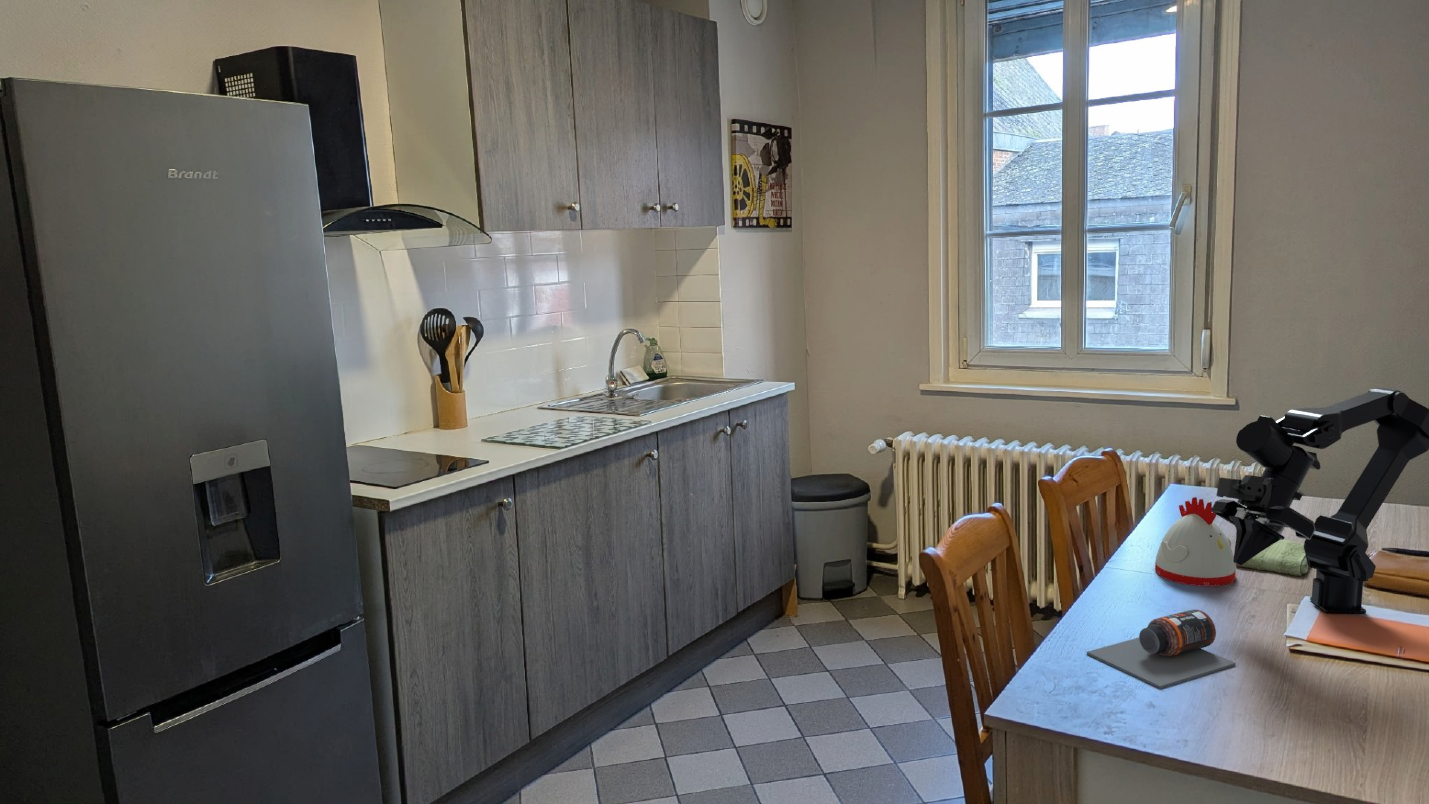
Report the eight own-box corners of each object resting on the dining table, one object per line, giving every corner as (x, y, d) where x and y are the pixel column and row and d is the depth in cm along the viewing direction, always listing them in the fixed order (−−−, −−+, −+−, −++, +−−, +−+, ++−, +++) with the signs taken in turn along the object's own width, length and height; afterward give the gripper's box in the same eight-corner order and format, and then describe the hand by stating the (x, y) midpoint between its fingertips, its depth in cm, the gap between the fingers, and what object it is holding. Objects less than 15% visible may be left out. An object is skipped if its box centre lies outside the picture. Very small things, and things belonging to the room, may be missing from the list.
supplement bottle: (1203, 602, 157) (1150, 614, 153) (1225, 636, 154) (1171, 650, 149) (1179, 618, 162) (1127, 631, 157) (1200, 652, 158) (1147, 666, 154)
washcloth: (1318, 555, 201) (1319, 539, 200) (1305, 580, 187) (1306, 564, 186) (1246, 544, 209) (1246, 529, 208) (1228, 568, 195) (1228, 552, 194)
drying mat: (1159, 633, 164) (1159, 631, 164) (1235, 665, 151) (1235, 662, 151) (1086, 654, 157) (1086, 651, 157) (1160, 688, 145) (1160, 686, 145)
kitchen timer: (1198, 591, 183) (1201, 511, 180) (1139, 569, 195) (1141, 495, 193) (1251, 578, 188) (1256, 501, 186) (1191, 558, 201) (1194, 485, 198)
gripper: (1206, 454, 172) (1164, 533, 171) (1277, 457, 153) (1230, 546, 152) (1260, 486, 173) (1218, 565, 172) (1337, 493, 154) (1290, 582, 153)
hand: (1237, 563), depth 162 cm, fingers closed
